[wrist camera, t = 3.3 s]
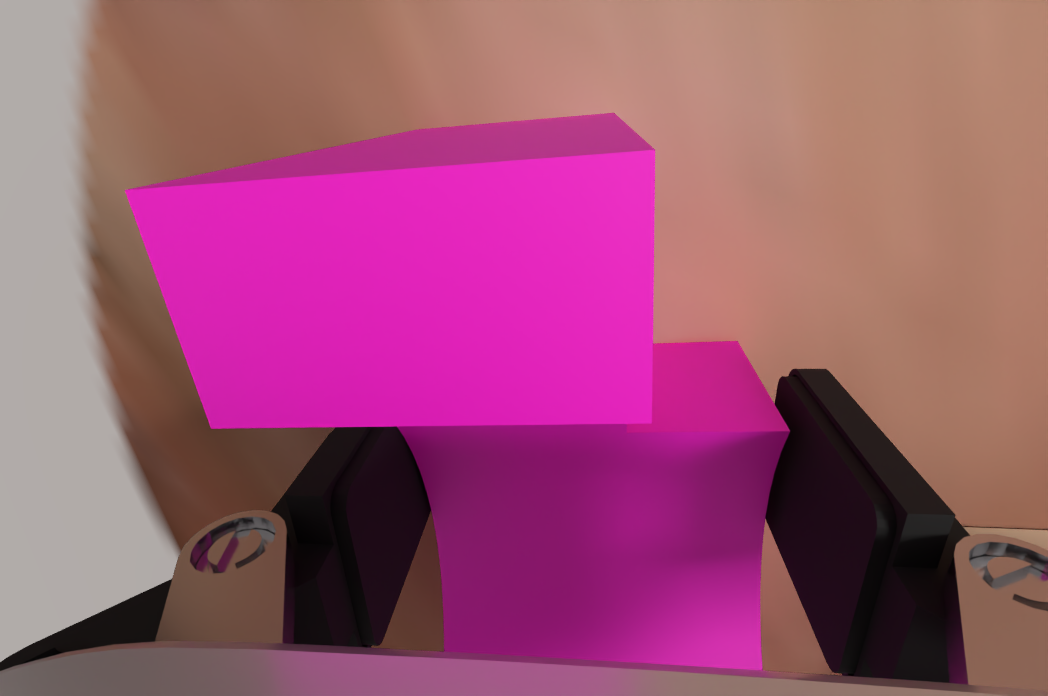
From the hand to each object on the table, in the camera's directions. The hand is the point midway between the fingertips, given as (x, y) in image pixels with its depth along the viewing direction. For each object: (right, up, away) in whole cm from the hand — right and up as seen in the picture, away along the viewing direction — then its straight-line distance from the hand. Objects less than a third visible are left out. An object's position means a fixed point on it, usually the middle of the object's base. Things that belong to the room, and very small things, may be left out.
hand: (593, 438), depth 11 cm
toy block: (0, -1, +3) cm, 3 cm away
